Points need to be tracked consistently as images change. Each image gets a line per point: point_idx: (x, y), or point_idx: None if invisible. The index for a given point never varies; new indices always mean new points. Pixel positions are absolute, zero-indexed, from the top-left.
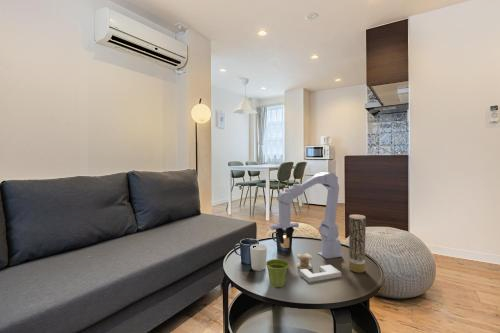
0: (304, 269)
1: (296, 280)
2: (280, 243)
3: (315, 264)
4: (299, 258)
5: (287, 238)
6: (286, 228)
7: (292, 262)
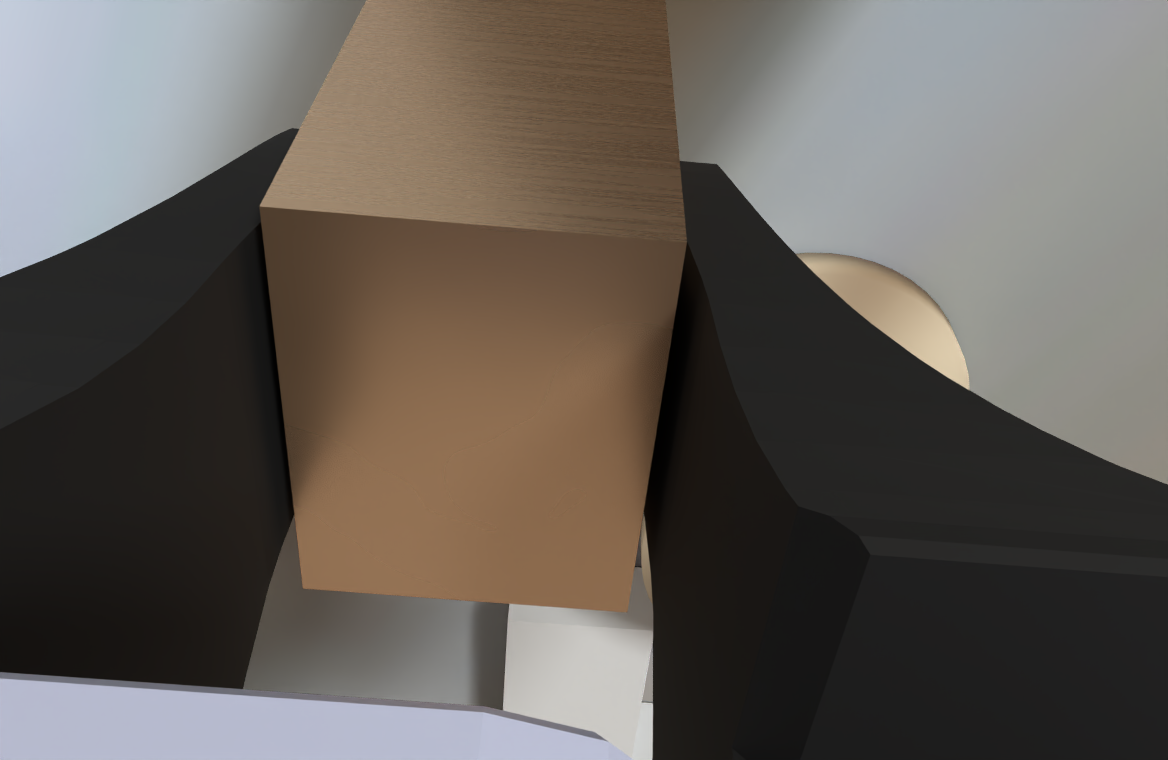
0: (598, 643)
1: (362, 665)
2: (363, 15)
3: (1086, 394)
4: (647, 580)
5: (519, 575)
6: (748, 696)
7: (696, 113)
